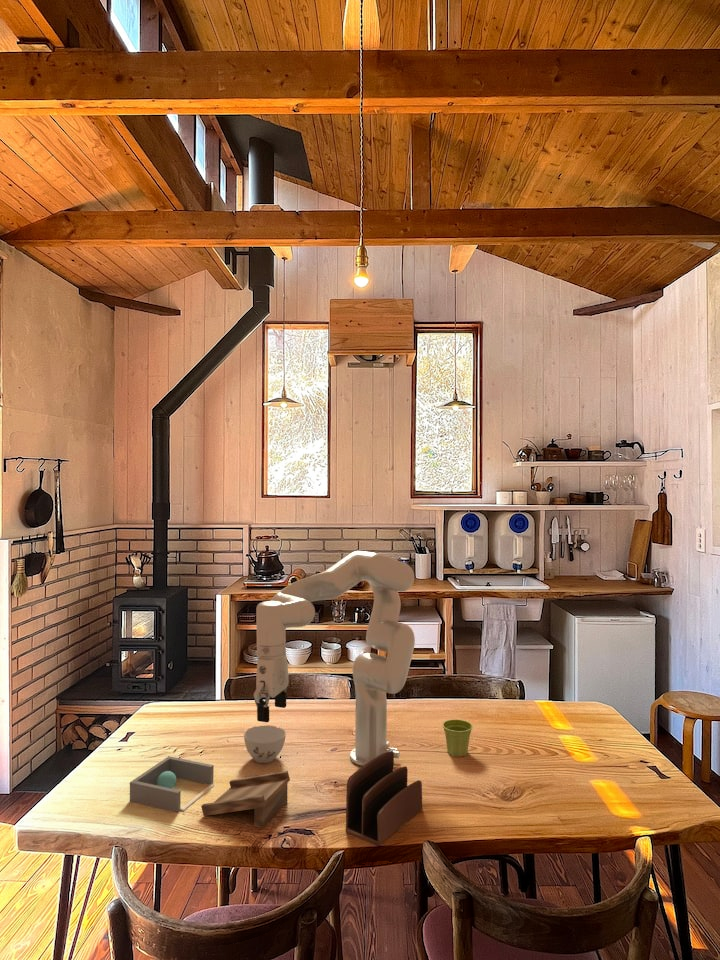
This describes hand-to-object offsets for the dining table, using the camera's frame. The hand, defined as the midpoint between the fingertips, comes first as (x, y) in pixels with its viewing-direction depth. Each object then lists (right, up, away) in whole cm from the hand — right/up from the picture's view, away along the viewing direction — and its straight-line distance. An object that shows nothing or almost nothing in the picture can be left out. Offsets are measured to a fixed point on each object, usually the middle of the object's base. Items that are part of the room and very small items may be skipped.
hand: (272, 713), depth 160 cm
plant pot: (+53, -24, +29) cm, 65 cm away
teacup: (-6, -23, +25) cm, 35 cm away
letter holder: (+29, -24, -8) cm, 39 cm away
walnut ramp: (-6, -23, -3) cm, 24 cm away
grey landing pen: (-27, -23, +4) cm, 36 cm away
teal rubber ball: (-28, -22, +5) cm, 36 cm away
